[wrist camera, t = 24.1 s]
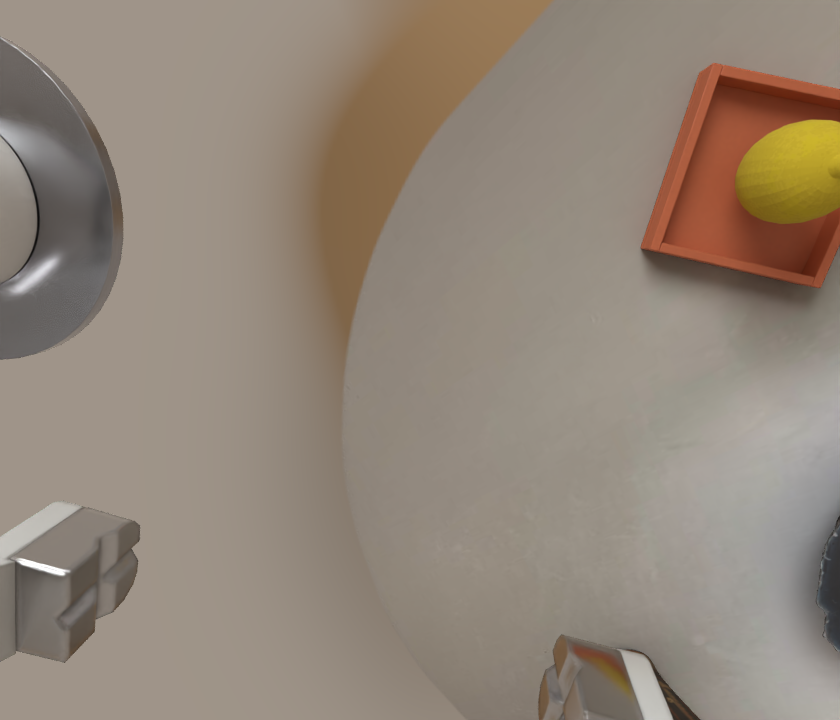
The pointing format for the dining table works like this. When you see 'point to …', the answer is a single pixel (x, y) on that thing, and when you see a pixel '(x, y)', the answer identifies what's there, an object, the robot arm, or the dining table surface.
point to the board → (831, 587)
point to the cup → (672, 698)
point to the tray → (715, 179)
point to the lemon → (792, 173)
